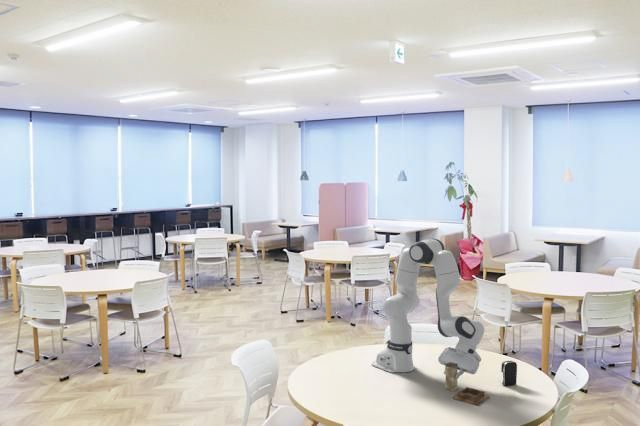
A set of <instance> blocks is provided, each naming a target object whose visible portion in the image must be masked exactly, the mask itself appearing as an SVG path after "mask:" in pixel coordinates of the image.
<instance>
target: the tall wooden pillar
mask: <svg viewBox="0 0 640 426" xmlns="http://www.w3.org/2000/svg"><path fill="white" fill-rule="evenodd" d="M457 365H458V364H456V363H452V362H449V363H447V364H446V375H445V390H447V391H449V392H450V391H451V392H455V391H456V390H457V389H458V379H457V378H455V377H454V375H455V373H458V372H459V370H458V367H457Z"/></svg>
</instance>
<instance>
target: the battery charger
mask: <svg viewBox="0 0 640 426" xmlns="http://www.w3.org/2000/svg"><path fill="white" fill-rule="evenodd" d="M500 369H501V371H500V372H501V373H502V377H503V379H502V382H501V384H502V385H503V386H504V387H511V386H516V385H517V379H518V374H517V373H518V364H517V362H516V361H513V360H504V361H502V363H501V368H500Z"/></svg>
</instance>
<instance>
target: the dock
mask: <svg viewBox="0 0 640 426" xmlns="http://www.w3.org/2000/svg"><path fill="white" fill-rule="evenodd" d="M490 396H491V395H488V394H485V391H484V390H479V389H475V388H473V387H468V386H466V387H465V388H462V389H461V390H460V391H458V392H457V393H456V394H455V395H453V396H452V400H457V401H460V402H463V403H467V404H471V405H475V406H477V407H478V406H480V405H481V404H483V403H484V402H485V401H486V400H488V399H490Z"/></svg>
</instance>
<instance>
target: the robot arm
mask: <svg viewBox="0 0 640 426" xmlns="http://www.w3.org/2000/svg"><path fill="white" fill-rule="evenodd" d="M422 264H423V265H429V264H431V265H432V266H433V269H434V272H435V278H436V288H435V298H436V307H437V308H436V309H437V317H438V318H437V330H438V332H439V334H440V335H441V336H442V337H444V338H452V337H453V338H454V337H456V338H458V339H459V340H458V341H457V343H456V345H455V347H451V346H447V347H445V348H444V349H443V351H442V352H441V354H440V355H439V356H438V358H437V360H438V363H439V364H440V365H443V366H444V371H443V374H444V375H445V376H446V364H447V363H449V362H452V363H456V364H458V365H457V367H458V373H455V375H454V377H455V378H457V380H458V379H459V378H460V376H462V375H463V374H464V373H466V374H470V375H475V374H477V372H478V369H479V367H480V362H482V357H481V356H480V354H479V353H478V352H477V351H476V350H477V347H478V345H480V343H481V341H482V339H483V336H484V334H485V327H484V324H483V323H481V322H480V321H479V320H477V319H471V318H468V317H466V316H463V315H462V316H461V315H456V316H452V314H451V307H450V306H451V305H450V297H451V295H452V293H453V292H455V291H456V290H457V288H459V286H460V284H461V276H460V271H459V267H458V264H457V261H456V258H455V256H454V254H453V252H452V251H450V250H446V249H445V245H444V243H443V242H442V241H441V240H440V239H437V238H427V239H423V240H421V241H418V240H417V241H416V242H414V243H413V244H411V246H410V247H406V248H404V249H403V250H402V252H401V254H400V256H399V260H398V264H397V269H396V274H395V279H394V283H395V284H396V285H397V293H396V294H393V295H390V296H389V297H387V298H386V299H385V300H384V301H383V302H382V304H381V309H382V310H381V311H382V312H383V314H384V315H385V317H387V320H388V323H389V324H388V325H389V339H388V340H387V341H386V342H385V345H387V346H386V347H384V348H383V349H381V350H380V351H379V352H378V353H377V354H376V359H375V360H373V361H372V362H371V366H373V367H376V368H378V369H380V370H384V371H386V372H388V373H391V374H392V373H393V374H394V373H407V372H408V373H409V372H412V371H414V370H415V365H414V361H413V340H412V335H413V334H412V332H413V330H412V329H413V327H412V326H411V324H410V323H409V322H408V318H407V315H408V314H410V313H413V312H414V311H416V310H417V309H418V308H419V306H420V304H421V303H420V297H419V295H418V292H417V286H418V285H417V283H418V279H419V273H420V268H421V265H422Z"/></svg>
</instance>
